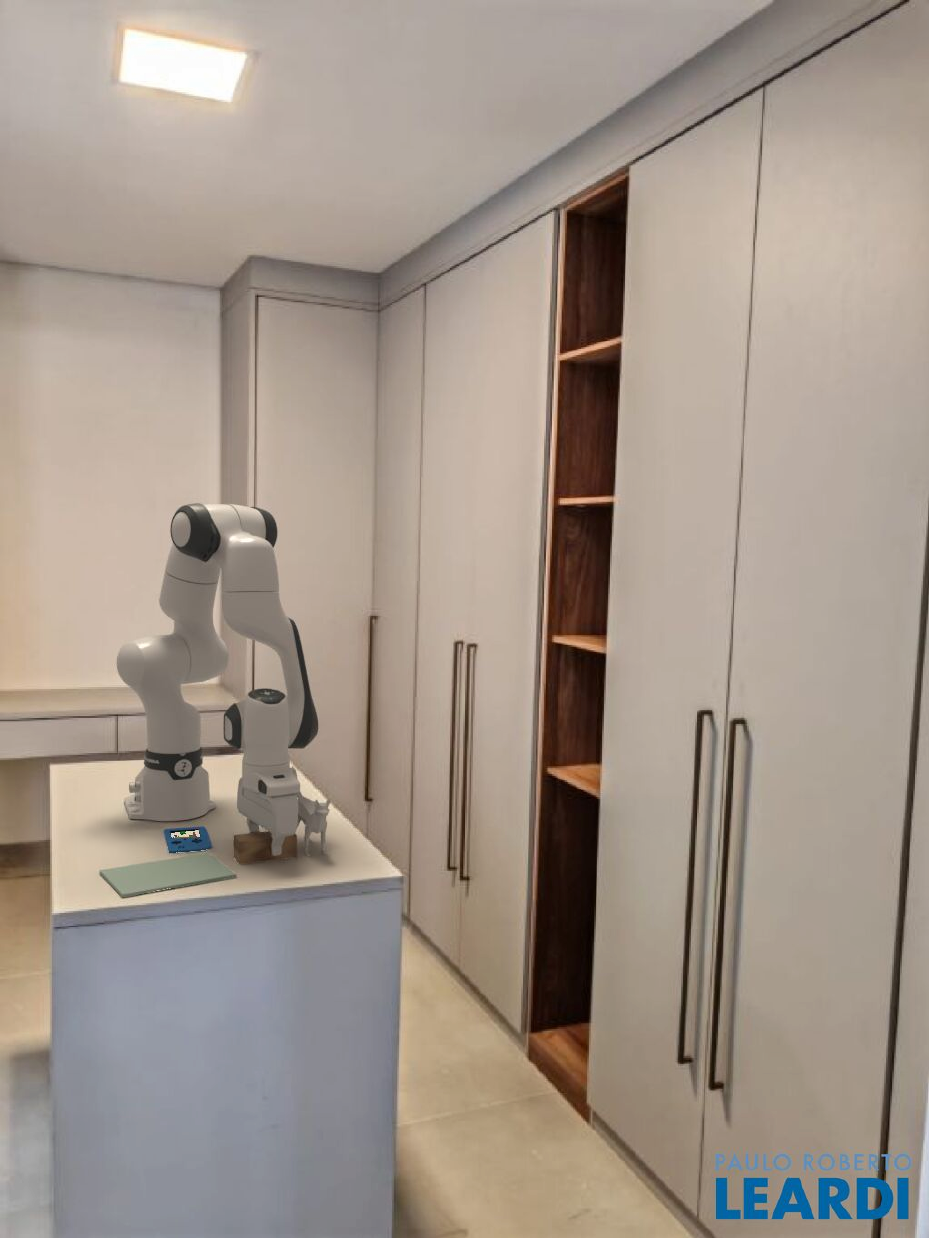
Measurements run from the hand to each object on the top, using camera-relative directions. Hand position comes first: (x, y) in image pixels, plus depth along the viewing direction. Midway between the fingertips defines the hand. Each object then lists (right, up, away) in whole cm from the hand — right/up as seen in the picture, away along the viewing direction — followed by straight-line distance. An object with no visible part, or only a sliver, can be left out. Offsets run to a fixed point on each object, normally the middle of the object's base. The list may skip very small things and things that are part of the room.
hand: (265, 847), depth 192 cm
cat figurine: (+7, -2, +7) cm, 10 cm away
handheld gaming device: (-17, -1, +9) cm, 19 cm away
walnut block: (0, -2, 0) cm, 2 cm away
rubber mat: (-15, -2, -11) cm, 19 cm away
